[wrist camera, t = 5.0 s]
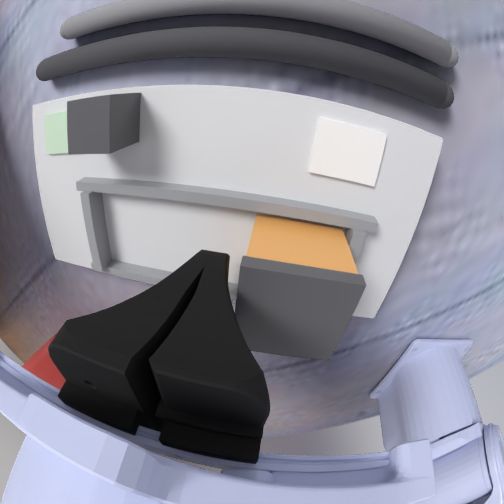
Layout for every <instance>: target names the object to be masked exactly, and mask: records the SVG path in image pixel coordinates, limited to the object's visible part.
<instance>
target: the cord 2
mask: <svg viewBox="0 0 504 504" xmlns="http://www.w3.org/2000/svg"><path fill="white" fill-rule="evenodd" d="M175 57H233V58H248V59H260V60H269V61H277V62H284V63H291V64H297V65H303V66H308V67H313V68H318V69H323V70H328V71H332V72H336V73H340V74H344V75H348V76H352V77H355V78H359V79H362V80H366V81H369V82H372V83H375V84H378V85H381V86H384V87H387V88H390V89H393V90H396V91H398V92H401V93H404V94H406V95H409V96H411V97H414V98H416V99H419V100H421V101H423V102H426V103H428V104H430V105H432V106H434V107H437V108H441V109H444V108H448V107H449V106H450V105H451V104H452V103H453V100H454V93H453V90H452V88H451V87H450V85H449V84H448V83H447V82H445V81H444V80H442V79H440V78H438V77H436V76H434V75H432V74H430V73H428V72H425V71H423V70H421V69H419V68H417V67H414V66H412V65H410V64H407V63H405V62H402V61H400V60H397V59H395V58H392V57H389V56H386V55H384V54H381V53H378V52H375V51H372V50H369V49H365V48H362V47H359V46H355V45H352V44H348V43H344V42H340V41H336V40H332V39H328V38H323V37H318V36H313V35H308V34H302V33H296V32H289V31H282V30H273V29H264V28H251V27H225V26H211V27H186V28H173V29H164V30H155V31H148V32H142V33H136V34H130V35H125V36H120V37H115V38H111V39H106V40H102V41H98V42H95V43H91V44H87V45H84V46H81V47H77V48H74V49H71V50H68V51H65V52H62V53H59V54H57V55H54V56H51V57H49V58H46V59H44V60H43V61H42V62H40V64H39V65H38V67H37V69H36V75H37V78H38V79H39V80H41V81H48V80H51V79H54V78H57V77H61V76H64V75H68V74H71V73H75V72H79V71H83V70H88V69H92V68H97V67H102V66H107V65H113V64H119V63H125V62H132V61H140V60H149V59H160V58H175Z"/></svg>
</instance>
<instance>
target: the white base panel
mask: <svg viewBox="0 0 504 504" xmlns="http://www.w3.org/2000/svg"><path fill="white" fill-rule="evenodd" d="M33 139H34V152H35V162H36V170H37V178H38V185H39V191H40V197H41V202H42V207H43V212H44V217H45V221H46V226H47V230H48V234H49V238H50V242H51V245H52V249H53V252H54V256H55V259H57V260H61V261H65V262H68V263H72V264H76V265H79V266H83V267H87V268H91V269H92V270H95V271H99V272H103V273H107V274H111V275H115V276H119V277H123V278H127V279H132V280H136V281H140V282H145V283H149V284H154V285H156V284H157V283H159V282H160V281H161V280H163V279H164V278H166V277H167V276H169V275H170V274H171V273H173V272H174V271H175V270H177V269H178V268H179V267H180V266H182V265H183V264H184V263H185V262H187V261H188V260H189V259H190V258H192V257H193V256H194V255H195V254H196V253H198V252H199V251H200V250H202V249H203V250H209V251H215V252H221V253H227V254H228V255H229V256H230V263H229V275H228V286H229V293H230V298H231V300H236V298H237V289H238V280H239V271H240V264H241V261H242V257H243V256H246V255H247V251H248V247H249V243H250V238H251V234H252V230H253V226H254V222H255V218H256V215H263V216H270V217H276V218H282V219H288V220H294V221H299V222H305V223H311V224H316V225H322V226H327V227H333V228H338V229H343V232H344V234H345V237H346V240H347V242H348V245H349V248H350V251H351V254H352V257H353V259H354V262H355V265H356V268H357V271H358V274H361V275H363V277H364V280H365V283H366V288H365V290H364V292H363V294H362V296H361V299H360V301H359V303H358V305H357V307H356V309H355V311H354V313H353V315H352V316H357V317H367V318H374V317H375V315H376V313H377V311H378V310H379V308H380V306H381V304H382V302H383V300H384V298H385V296H386V294H387V292H388V290H389V288H390V286H391V284H392V282H393V280H394V278H395V276H396V273H397V271H398V269H399V267H400V265H401V263H402V260H403V258H404V256H405V253H406V251H407V249H408V246H409V244H410V241H411V239H412V237H413V234H414V231H415V229H416V226H417V224H418V221H419V218H420V216H421V213H422V210H423V207H424V204H425V201H426V198H427V195H428V192H429V189H430V186H431V183H432V180H433V176H434V173H435V169H436V166H437V162H438V158H439V154H440V151H441V146H442V142H443V138H441V137H439V136H436V135H434V134H432V133H429V132H427V131H424V130H422V129H419V128H417V127H414V126H412V125H409V124H406V123H404V122H401V121H398V120H395V119H392V118H389V117H386V116H383V115H380V114H377V113H373V112H370V111H367V110H363V109H360V108H356V107H352V106H349V105H345V104H341V103H337V102H332V101H328V100H323V99H319V98H314V97H309V96H304V95H298V94H292V93H286V92H279V91H272V90H264V89H256V88H246V87H234V86H218V85H155V86H140V87H128V88H119V89H110V90H103V91H96V92H90V93H84V94H79V95H73V96H69V97H64V98H59V99H55V100H51V101H47V102H43V103H39V104H36V105H33Z"/></svg>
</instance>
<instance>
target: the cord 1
mask: <svg viewBox="0 0 504 504" xmlns="http://www.w3.org/2000/svg"><path fill="white" fill-rule="evenodd" d="M198 14H249V15H264V16H274V17H283V18H290V19H297V20H303V21H309V22H314V23H320V24H324V25H329V26H333V27H337V28H341V29H345V30H349V31H353V32H356V33H360V34H363V35H366V36H369V37H372V38H376V39H378V40H381V41H384V42H387V43H390V44H392V45H395V46H398V47H400V48H403V49H405V50H407V51H410V52H412V53H414V54H417V55H419V56H421V57H423V58H425V59H428V60H430V61H432V62H434V63H436V64H438V65H440V66H442V67H445V68H451V67H453V66H455V65H456V64H457V62H458V53H457V50H456V49H455V47H454V46H453V45H452V44H451V43H449V42H448V41H446V40H444V39H443V38H441V37H439V36H437V35H435V34H433V33H431V32H429V31H427V30H425V29H423V28H421V27H419V26H416V25H414V24H412V23H410V22H407V21H405V20H403V19H400V18H398V17H395V16H393V15H390V14H387V13H385V12H382V11H379V10H376V9H373V8H370V7H367V6H364V5H360V4H357V3H353V2H350V1H346V0H121V1H117V2H114V3H110V4H107V5H104V6H100V7H97V8H94V9H91V10H89V11H86V12H83V13H80V14H78V15H75V16H73V17H70V18H68V19H67V20H66V21H65V22H64V23H63V24H62V26H61V29H60V34H61V36H62V37H63V38H64V39H74V38H77V37H80V36H83V35H86V34H89V33H92V32H96V31H99V30H103V29H107V28H111V27H115V26H119V25H124V24H128V23H133V22H139V21H144V20H150V19H157V18H164V17H173V16H183V15H198Z"/></svg>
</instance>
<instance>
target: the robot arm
mask: <svg viewBox="0 0 504 504" xmlns="http://www.w3.org/2000/svg"><path fill="white" fill-rule="evenodd" d="M229 263H230V256H229V255H228V254H227V253H221V252H215V251H209V250H203V249H202V250H200V251H199V252H198V253H196V254H195V255H194V256H193V257H192V258H190V259H189V260H188V261H187V262H185V263H184V264H183V265H182V266H180V267H179V268H178V269H177V270H175V271H174V272H173V273H171V274H170V275H169V276H167V277H166V278H164V279H163V280H161V281H160V282H159V283H157V284H156V285H154V286H153V287H151V288H149V289H148V290H146V291H144V292H142V293H140V294H139V295H137V296H135V297H133V298H130V299H128V300H126V301H124V302H122V303H120V304H117V305H115V306H113V307H110V308H107V309H105V310H102V311H99V312H96V313H93V314H89V315H86V316H82V317H78V318H74V319H70V320H67V321H66V322H65V323H64V325H63V326H62V327H61V329H60V330H59V332H58V333H57V334H56V336H55V337H54V339H53V340H52V342H51V343H50V345H49V347H48V352H49V355H50V358H51V359H52V361H53V363H54V364H55V366H56V367H57V368H58V370H59V371H60V373H61V374H62V376H63V377H64V378H65V380H66V381H65V383H64V385H63V386H62V388H61V390H59V389H57V388H55V387H54V386H52V385H50V384H48V383H47V382H45V381H43V380H42V379H40V378H38V377H37V376H35V375H34V374H32V373H30V372H29V371H27V370H26V369H24V368H23V367H21V366H20V365H18V364H17V363H16V362H14V361H13V360H11V359H10V358H9V357H7V356H6V355H5V354H3V353H2V352H0V412H1V413H2V414H3V415H4V416H5V417H6V418H8V419H9V420H10V421H11V422H12V423H14V424H15V425H16V426H17V427H18V428H19V429H20V430H21V431H23V432H24V433H25V434H27V435H26V437H25V439H24V442H23V444H22V446H21V449H20V451H19V453H18V456H17V458H16V460H15V463H14V466H13V468H12V471H11V474H10V476H9V479H8V482H7V485H6V488H5V491H4V494H3V497H2V500H1V504H504V439H503V435H502V432H501V430H500V428H499V426H497V425H493V424H492V423H490V424H488V425H487V426H486V425H484V424H482V419H481V416H480V412H479V409H478V406H477V402H476V399H475V396H474V393H473V390H472V387H471V384H470V382H469V379H468V376H467V373H466V371H465V368H464V366H463V363H462V361H461V358H462V357H463V356H464V355H465V353H466V352H467V351H468V350H469V349H470V347H471V346H472V345H473V341H472V340H471V339H468V340H448V339H416V340H414V341H413V342H412V343H411V344H410V346H409V347H408V348H407V350H406V351H405V352H404V354H403V355H402V356H401V358H400V359H399V360H398V361H397V363H396V364H395V365H394V366H393V368H392V369H391V370H390V371H389V373H388V374H387V375H386V376H385V377H384V379H383V380H382V381H381V382H380V383H379V384H378V386H377V387H376V388H375V389H374V390H373V391H372V392H371V393H370V398H372V399H378V406H379V413H380V420H381V427H382V436H383V443H384V447H385V450H386V452H378V453H369V454H357V455H339V456H301V455H282V454H270V453H260V452H259V451H260V443H261V439H262V435H263V427H264V424H265V422H266V420H267V418H268V416H269V413H270V400H269V394H268V389H267V385H266V381H265V377H264V373H263V371H262V370H261V368H260V366H259V365H258V363H257V362H256V360H255V358H254V357H253V355H252V353H251V351H250V349H249V347H248V345H247V343H246V341H245V339H244V337H243V334H242V332H241V330H240V328H239V325H238V322H237V319H236V316H235V313H234V310H233V306H232V302H231V298H230V293H229V286H228V275H229ZM146 449H147V450H150V451H153V452H156V453H159V454H163V455H166V456H169V457H173V458H176V459H180V460H184V461H188V462H192V463H196V464H201V465H205V466H210V467H215V468H221V469H223V470H222V471H221V473H217V472H212V471H208V470H205V469H201V468H197V467H194V466H190V465H187V464H184V463H180V462H177V461H174V460H171V459H168V458H165V457H163V456H159V455H157V454H154V453H151V452H149V451H147V450H146Z"/></svg>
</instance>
